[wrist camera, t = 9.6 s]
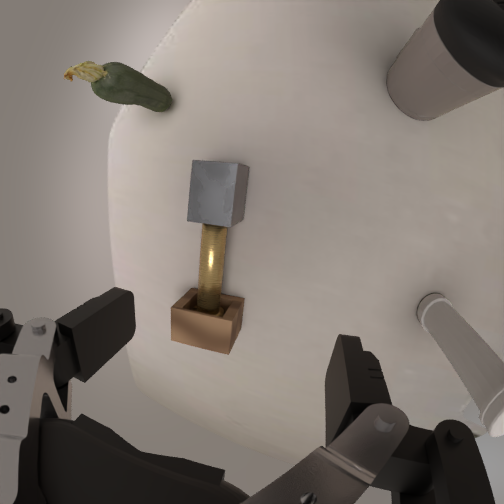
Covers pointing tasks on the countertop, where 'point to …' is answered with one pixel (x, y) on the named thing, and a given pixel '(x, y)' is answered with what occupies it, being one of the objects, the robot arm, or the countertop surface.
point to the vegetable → (122, 85)
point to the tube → (211, 269)
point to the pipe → (467, 358)
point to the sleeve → (217, 193)
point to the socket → (206, 323)
